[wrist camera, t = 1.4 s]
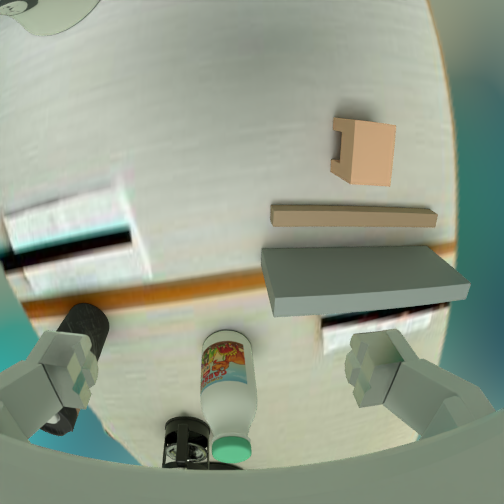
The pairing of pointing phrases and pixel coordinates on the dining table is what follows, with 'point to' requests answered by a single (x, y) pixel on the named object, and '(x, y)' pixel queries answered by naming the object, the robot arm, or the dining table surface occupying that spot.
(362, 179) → the block
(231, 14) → the dining table surface
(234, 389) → the milk bottle
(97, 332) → the travel mug
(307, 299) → the cleat board
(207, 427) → the french press
